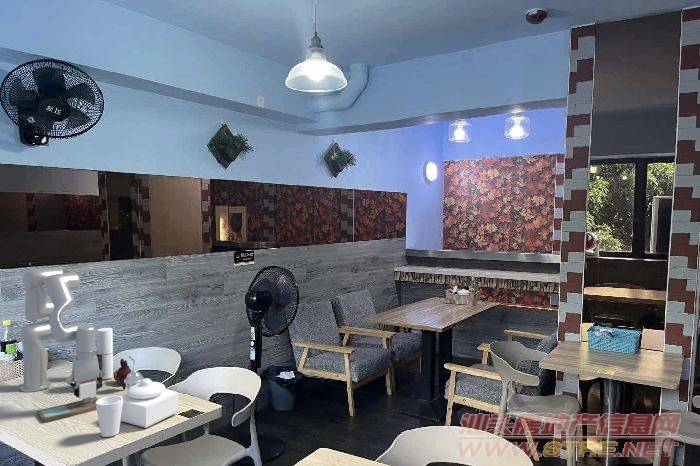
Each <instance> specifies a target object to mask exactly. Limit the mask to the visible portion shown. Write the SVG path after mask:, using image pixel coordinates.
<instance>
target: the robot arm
mask: <svg viewBox="0 0 700 466" xmlns="http://www.w3.org/2000/svg"><path fill="white" fill-rule="evenodd" d="M81 281H82V280H81V278H80V276H79V275H78V274H77V272H75V271H73V270H71V269H69V268H67V267H64V266H55V267H43V268H34V269H28V270H27V271H26V272H25V273H24V274H23V277H22V283H23V287H24V291H25V301H24V302H25V303H24V316H25V319H26V320H27V321H30V322H31V323H29V324H28V323H27V324H25V325H24V326H22V327H21V328H20V331H19V335H20V341H21V346H22V361H23V362H22V366H23V368H22V369H23V373H22V374H23V384H22V385H21V386H20V387H19V391H21V392H24V393H32V392H33V393H34V392H39V391H40V392H41V391H43V390H45V389H48V388H49V387H50V386H51V384H52V383H51V381H48V369H47V368H48V364H47V363H48V361H47V357H48V355H47V349H46V347H45V346H44V345H43V344H42V342H46V341H50V340H55V341H56V342H57V343H58V344H65V343H70V342H75V357H74V358H73V360H72V366H71V367H72V368H71V374H70V376H69V377H67V379H66V380H65V383H66V384H68V385H69V386H70V387H72V388H73V395H74V396H75V397H76V398H78V397H79V388H78V386H79V383H80V382H82V381H87V380H91V379H93V380H94V381H95V382H96V394H97V391H98V390H99V389H98V383H99V381H100V380H101V379H102V377H103V376H104V375H105V373H104V372H103V371H101V370H100V369H99V364H98V358H97V356H96V354H98V352H99V350H97V349H96V327H95V326H93V325H89V324H88V322H87V323H86V322H82V321H81V322H76V323H70V324H65V325H63V320H64V319H63V317H64V312H66V311H68V310H69V309H71V308H72V307H73V306H74V305H75V302H76V301H75V297H74V296H73V295H74V294H73V293H72V291H75V290H78V289H80V287H81V283H82V282H81ZM47 296H49V298H48V299H47ZM47 319H48V320H47ZM35 321H36V322H35ZM37 321H38V322H37ZM99 373H100V376H99ZM72 380H73V381H74V382H72ZM78 399H79V398H78Z"/></svg>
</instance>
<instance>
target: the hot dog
mask: <svg viewBox="0 0 700 466" xmlns="http://www.w3.org/2000/svg"><path fill="white" fill-rule="evenodd" d="M117 371H118V370H116V371H113V379H114V381H115V382H116V383H117V384H118V385H121V383H120V380H119V379H117V378H116V376H117ZM121 386H122V385H121Z"/></svg>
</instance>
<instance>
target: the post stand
mask: <svg viewBox="0 0 700 466" xmlns="http://www.w3.org/2000/svg"><path fill="white" fill-rule="evenodd" d="M98 399H99V398H98V397H96V396H93V397H88V398H84V399H80V400H77V401H73V402H69V403H63V404H60V405H57V406H52V407H48V408H45V409H40V410H36V415H37V416H38V417H39V419H40V420H41V421H42V422H43V424H48V423H51V422H52V423H53V422H55V421H59V420H62V419H66V418H71V417H74V416H78V415H82V414H86V413H89V412H94V411H97V410H96V401H97V400H98Z"/></svg>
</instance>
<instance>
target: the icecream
mask: <svg viewBox="0 0 700 466" xmlns="http://www.w3.org/2000/svg"><path fill="white" fill-rule="evenodd" d="M119 363H120V367H119V368H118V369H117V370H116V371H117V376H116V378H117V379H119V380H120V383H121V387H122V390H123V391H125V390H126V389H127V387H126V383H124V379H126V377H127V375H128V374H129V373H130V372H132V370H131V368H130V366H129V365H128V361H127V360H125V359H124V358H121V359H120V362H119Z"/></svg>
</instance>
